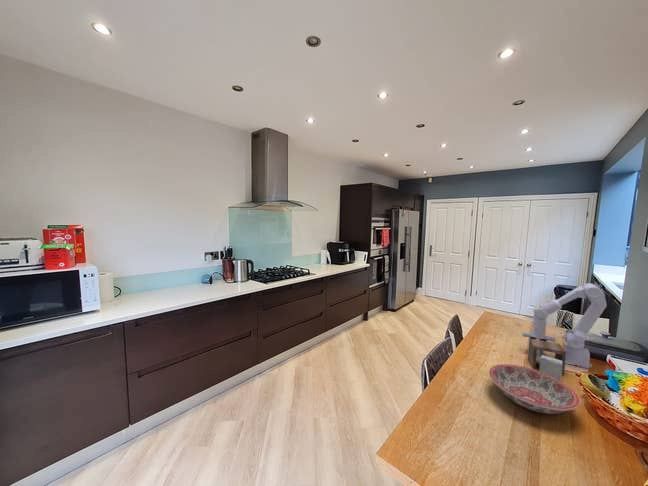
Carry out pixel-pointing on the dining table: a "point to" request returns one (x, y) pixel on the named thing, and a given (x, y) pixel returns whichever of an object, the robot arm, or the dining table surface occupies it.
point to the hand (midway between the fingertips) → (537, 350)
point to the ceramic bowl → (534, 389)
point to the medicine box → (551, 367)
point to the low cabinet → (545, 346)
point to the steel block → (539, 354)
